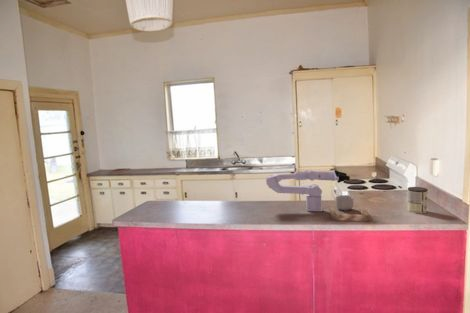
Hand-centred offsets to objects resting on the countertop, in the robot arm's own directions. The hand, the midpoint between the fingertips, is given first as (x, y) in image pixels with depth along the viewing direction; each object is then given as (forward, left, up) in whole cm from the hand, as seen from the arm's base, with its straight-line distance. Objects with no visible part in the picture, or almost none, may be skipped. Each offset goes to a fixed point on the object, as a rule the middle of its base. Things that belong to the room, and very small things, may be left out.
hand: (348, 176), depth 195 cm
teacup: (-2, +3, -22) cm, 22 cm away
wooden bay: (-2, -13, -21) cm, 25 cm away
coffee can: (+40, 0, -21) cm, 46 cm away
